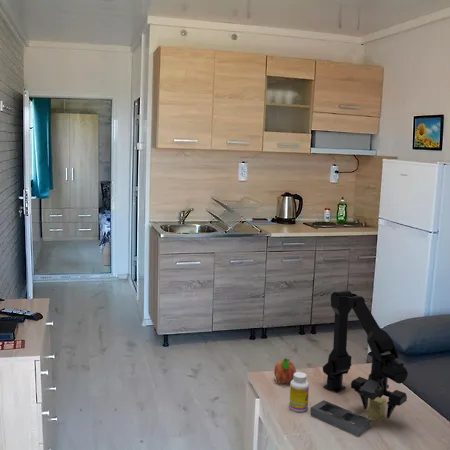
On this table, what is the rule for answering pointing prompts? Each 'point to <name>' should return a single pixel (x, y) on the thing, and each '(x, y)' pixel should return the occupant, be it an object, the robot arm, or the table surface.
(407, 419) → the table surface
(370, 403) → the olive grained block
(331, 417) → the grey block holder tray
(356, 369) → the table surface
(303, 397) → the supplement bottle
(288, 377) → the fruit
